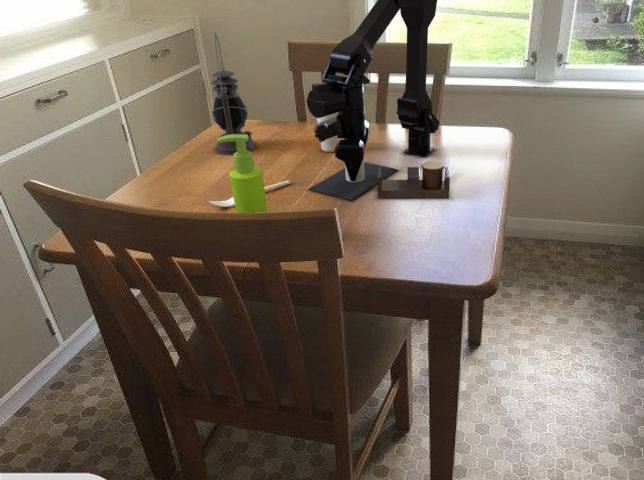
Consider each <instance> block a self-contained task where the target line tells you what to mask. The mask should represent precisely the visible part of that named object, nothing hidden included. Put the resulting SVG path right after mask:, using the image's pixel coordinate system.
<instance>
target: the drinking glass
mask: <svg viewBox="0 0 644 480" xmlns="http://www.w3.org/2000/svg"><path fill="white" fill-rule="evenodd" d="M337 115H338V112H337V113H334V114H331V115H328V116H325V117H321V118H316V117H315V119H316V125H317V124H318V123H320V122H323V121H325V120H328V119H331V118H334V117H336V116H337ZM340 140H341V138H337V135H336V136H334V137H331V138H329V139H326V140H325V141H323V142H320V149H321V150H322V151H323V152H326V153H333V152H334V153H335V146H336V144H337V143H338V142H339V141H340Z"/></svg>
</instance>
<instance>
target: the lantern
mask: <svg viewBox="0 0 644 480" xmlns="http://www.w3.org/2000/svg"><path fill="white" fill-rule="evenodd" d="M213 35H214V48H215V55H216V61H217V68H218V69H217V70H218V71H215V72H214V73H213V74H212V77H214V78H216V79H213V80H211V81H210V82H211V83H210V84H211V85H213V91H214V92H216V94H215V95H214V98H215V99H214V102H213V105H212V108H213V109H212V117H213V118H212V119H213V121H214V123H215V124H216V125H217V126H218V127H219V129H220V130H222V131H224V133H222V134H221V135H219V136H218V137H217V139H218V138H219V137H222V136H226V135H232V134H243V135H248V137H249V138H248V141H245V142H246V148H247V151H250V152H252V151H253V150H254V149H255V148H256V144H255V141H254V139H253V138H252V134H253V132H252V131H250V130H245V131H242V130H244V127H245V126H246V121H247V119H248V114H249V113H248V109H247V106H246V104H245V102H243V100H242V98H241V97H240V93H239V92H237V90H238V89H239V85H238V84H237V83H238V82H239V79H237V78H234V77H232V76H235V75H236V73H235V72H234V71H231V70H225V66H224V62H223V58H222V52H221V47H220V42H219V38H218V35H217V33H216V32H214V34H213ZM217 46H218V48H217ZM218 52H219V53H218ZM218 54H219V55H218ZM219 57H220V62H219ZM220 68H221V69H220ZM220 70H221V71H220ZM215 146H216V148H215V151H216V152H217V153H219V154H222V155H229V156H231V155H232V156H233V154H234V153H236V152H237V147H236V141H227V142H222V143H218V142H217V143H216V144H215Z"/></svg>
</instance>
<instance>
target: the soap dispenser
mask: <svg viewBox="0 0 644 480" xmlns="http://www.w3.org/2000/svg"><path fill="white" fill-rule="evenodd" d="M218 137H219V136H218ZM218 137H217V139H216V142H217V143H222V142H227V141H236V147H237V152H236V153H234V154H233V155H232V157H233V162H234V163H233V164H234V168H233V170H230V171H229V173H228V175H229V180H230V186H231V192H232V197H234V203H235V206H234V207H235V213H255V212H268V213H269V209H268V201H267V197H266V196H267V195H266V191H265V189H264V187H265V182H264V176H263V170H262V168H260V167H259V166H255V164H254V162H255V161H254V155H253V152H252V151H247V148H246V142H245V141H248V138H249V137H248V135H243V134H232V135H226V136H222V137H219V138H218Z"/></svg>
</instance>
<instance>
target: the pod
mask: <svg viewBox="0 0 644 480" xmlns="http://www.w3.org/2000/svg"><path fill="white" fill-rule="evenodd" d="M420 167H421V169H422V173H421V175H422V178H421V180H422V185H423V187H425V188H429V189H436V188H440V187H441V186H442V180H443V173H444V172H443V171H444V170H445V164H444V163H443V162H440V161H436V160H428V161H424V162H423V163H421V165H420Z"/></svg>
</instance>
